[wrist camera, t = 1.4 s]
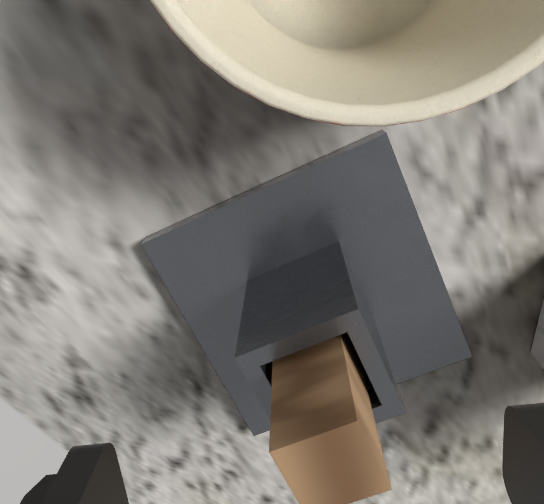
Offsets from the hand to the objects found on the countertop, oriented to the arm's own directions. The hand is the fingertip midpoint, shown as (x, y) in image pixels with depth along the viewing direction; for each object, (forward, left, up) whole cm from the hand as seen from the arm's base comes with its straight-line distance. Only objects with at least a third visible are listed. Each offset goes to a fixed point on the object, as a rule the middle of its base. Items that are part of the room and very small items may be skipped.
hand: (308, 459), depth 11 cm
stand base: (+2, +9, -27) cm, 28 cm away
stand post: (+2, +9, -25) cm, 27 cm away
